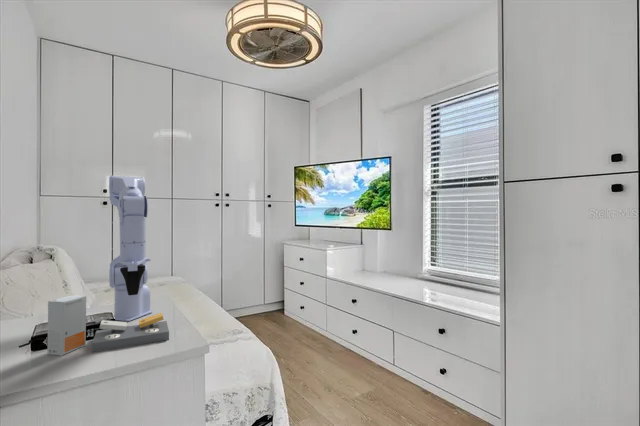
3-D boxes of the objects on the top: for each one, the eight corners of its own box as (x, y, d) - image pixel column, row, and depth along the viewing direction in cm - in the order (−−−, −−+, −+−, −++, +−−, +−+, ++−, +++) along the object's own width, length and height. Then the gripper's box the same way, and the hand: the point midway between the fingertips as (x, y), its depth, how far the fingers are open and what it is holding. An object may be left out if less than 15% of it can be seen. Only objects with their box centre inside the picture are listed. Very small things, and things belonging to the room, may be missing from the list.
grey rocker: (99, 328, 80) (100, 324, 80) (100, 324, 83) (101, 319, 83) (125, 330, 82) (126, 325, 83) (125, 326, 85) (127, 321, 86)
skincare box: (62, 356, 73) (62, 302, 73) (46, 354, 74) (46, 301, 74) (87, 345, 79) (87, 295, 79) (72, 344, 80) (72, 294, 80)
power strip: (91, 352, 75) (91, 341, 75) (96, 338, 83) (96, 328, 83) (169, 339, 83) (169, 329, 83) (166, 328, 91) (166, 318, 91)
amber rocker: (139, 328, 84) (138, 324, 84) (139, 324, 87) (138, 320, 87) (163, 319, 87) (162, 315, 86) (162, 315, 90) (161, 312, 89)
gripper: (151, 244, 82) (151, 299, 82) (149, 239, 94) (149, 287, 94) (117, 245, 78) (117, 302, 78) (120, 240, 91) (120, 289, 91)
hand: (133, 294), depth 86 cm, fingers closed
